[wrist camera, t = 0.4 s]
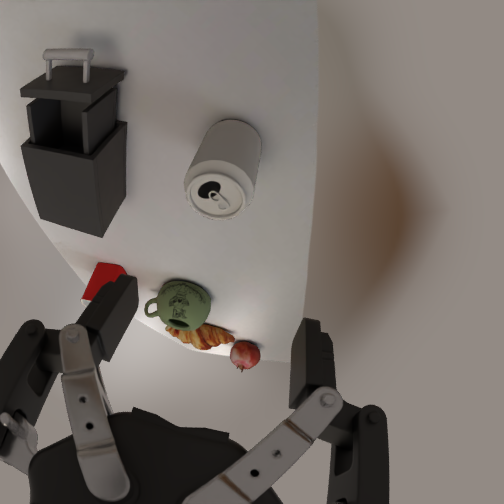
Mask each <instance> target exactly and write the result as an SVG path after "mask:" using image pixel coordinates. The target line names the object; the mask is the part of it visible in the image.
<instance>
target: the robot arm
mask: <svg viewBox="0 0 504 504" xmlns="http://www.w3.org/2000/svg"><path fill="white" fill-rule="evenodd" d="M138 303H139V297H138V285H137V278H136V277H133V276H130V275H126V274H123V273H122V274H120V275H119V277H118V278H117V279H116V281H115V282H112V281H109V282H107V283H106V284H104V285H103V286H101V288H100V289H99V291H98V292H97V293H96V295H95V296H94V297H93V299H92V301H91V302H90V303H89V304H88V306H87V307H86V309H85V310H84V312H83V313H82V315H81V316H80V317H79V319H78V321H77V322H76V323H75V324H69V325H66V326H65V327H64V328H63V329H62V330H55V329H45V327H44V325H43V324H42V322H41V321H39V320H34V319H33V320H29V321H27V322H25V323H24V324H23V325H22V326H21V328H20V329H19V331H18V332H17V334H16V335H15V337H14V338H13V340H12V342H11V343H10V345H9V346H8V348H7V350H6V351H5V353H4V354H3V356H2V358H1V359H0V460H2V461H3V462H5V463H7V464H9V465H11V466H13V467H15V468H16V469H18V470H20V471H21V472H23V473H25V474H26V475H28V478H29V484H30V504H283V503H282V501H281V500H280V498H279V497H278V496H277V494H276V493H275V491H274V490H273V488H272V487H271V486H272V484H274V483H275V482H276V481H277V480H278V479H279V478H280V477H281V476H282V475H283V474H284V473H285V472H286V471H287V470H288V469H289V468H290V467H291V466H292V465H293V464H294V463H295V462H296V461H297V460H298V459H299V458H300V457H301V456H302V455H303V454H304V453H305V452H306V450H307V449H308V448H310V446H311V445H312V444H313V442H314V441H315V440H316V438H319V439H321V440H323V441H326V442H329V443H331V444H332V447H331V461H330V475H329V487H328V496H327V504H389V448H388V433H387V432H388V430H387V418H386V415H385V413H384V411H383V410H382V409H381V408H379V407H378V406H375V405H367V406H364V407H363V408H359V407H357V406H354V405H351V404H349V403H347V402H346V401H344V400H343V399H342V396H341V395H340V393H339V392H338V391H337V389H336V378H335V366H334V354H333V342H332V340H331V338H330V337H329V335H328V333H324V332H321V328H320V321H319V320H314V319H309V318H303V320H302V322H301V324H300V326H299V328H298V330H297V333H296V335H295V337H294V339H293V343H292V348H291V372H290V393H289V408H290V409H296V410H295V411H294V412H293V413H292V414H291V415H290V416H289V417H288V418H287V419H286V420H284V421H282V422H281V423H280V424H279V425H278V426H277V427H276V428H275V429H274V430H273V431H272V432H270V433H269V434H268V435H267V436H266V437H265V438H264V439H263V440H261V441H260V442H259V443H258V444H257V445H256V446H254V447H253V448H252V449H251V450H250V451H247V450H246V449H244V448H243V447H242V446H241V445H239V444H238V443H237V442H235V441H233V440H231V439H229V433H227V432H222V431H217V430H213V429H208V428H187V427H178V426H175V425H174V424H172V423H170V422H168V421H167V420H165V419H163V418H161V417H160V416H158V415H156V414H153V413H150V412H147V411H143V410H141V409H138V408H135V407H133V409H132V412H118V413H113V410H112V408H111V405H110V402H109V400H108V397H107V393H106V390H105V386H104V383H103V379H102V375H101V371H100V367H99V364H100V362H101V360H105V361H107V362H110V360H111V358H112V356H113V354H114V352H115V350H116V348H117V346H118V344H119V342H120V340H121V339H122V337H123V335H124V333H125V331H126V329H127V328H128V326H129V324H130V322H131V320H132V318H133V317H134V315H135V313H136V311H137V308H138ZM58 373H63V375H61V382H62V388H63V393H64V398H65V403H66V408H67V413H68V417H69V421H70V425H71V429H72V433H73V434H72V435H70V436H68V437H66V438H64V439H62V440H60V441H58V442H56V443H54V444H52V445H50V446H48V447H46V448H43V449H41V450H39V451H37V440H38V435H37V431H36V429H35V428H34V426H35V424H36V421H37V419H38V417H39V414H40V412H41V410H42V407H43V405H44V403H45V401H46V398H47V396H48V394H49V392H50V389H51V387H52V385H53V383H54V381H55V379H56V377H57V375H58Z"/></svg>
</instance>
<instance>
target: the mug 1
mask: <svg viewBox="0 0 504 504" xmlns="http://www.w3.org/2000/svg"><path fill="white" fill-rule="evenodd" d="M122 273H123V274H126V272H125V270H124V269H123V267H121V266H119V265H115V264H108V263H101V262H100V263H98V264H97V265H96V268H95V270H94V272H93V274H92V276H91V279H90V281H89V283H88V285H87V288H86V290H85V292H84V295H83V297H82V298H81V300H80V301H81V303H82V304H83V305H84V306H85V307H87V306H88V304H89V303H90V302H91V301H92V299H93V297H94V296H95V295H96V293H97V292H98V291H99V289H100V288H101V286H103V285H104V284H106V283H107V282H109V281H112V282H115V281H116V279H117V278H118V277H119V275H120V274H122ZM126 275H127V274H126Z"/></svg>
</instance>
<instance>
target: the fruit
mask: <svg viewBox="0 0 504 504" xmlns="http://www.w3.org/2000/svg"><path fill="white" fill-rule="evenodd" d="M230 359H231V361H232V363H233V364H234V365H236V366H237V368H238V367H239V368H240V369H241V370H242V371H243V369H250V368H252V367H253V366H255V365H256V364H257V363H258V362H259V360H260V350H259V349H258V347H257V346H256V345H253V344H250V343H249V342H247V341H242V342H239V343H236V344H235V345H234V346H233V347H232V348H231V352H230ZM242 371H241V372H242Z"/></svg>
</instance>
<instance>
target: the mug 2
mask: <svg viewBox="0 0 504 504" xmlns="http://www.w3.org/2000/svg"><path fill="white" fill-rule="evenodd" d="M152 303H157V311H155V312H153V313H150V314H149V313H148V307H149V305H150V304H152ZM210 307H211V298H210V297H209V295H208V294H207V293H206V292H205V291H204V290H203V289H202V288H200V287H199V286H197V285H194V284H192V283H189V282H184V281H172V282H169V283H166V284H164V285H163V287H162V288H161V290H160V292H159V293H158V296H157V297H156V298H153V299H151V300H149V301H148V302H147V303H146V304H145V309H144V311H145V315H146V316H147V317H156V316H159V317H160V319H161V320H162V321H163V322H164V323H165V324H166V325H168V326H170V327H172V328H175V329H178V330H182V331H192V330H195V329H197V328H199V327H200V326H201V325H202V324H203V323H204V322H205V320H206V319H207V317H208V315H209V313H210Z"/></svg>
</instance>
